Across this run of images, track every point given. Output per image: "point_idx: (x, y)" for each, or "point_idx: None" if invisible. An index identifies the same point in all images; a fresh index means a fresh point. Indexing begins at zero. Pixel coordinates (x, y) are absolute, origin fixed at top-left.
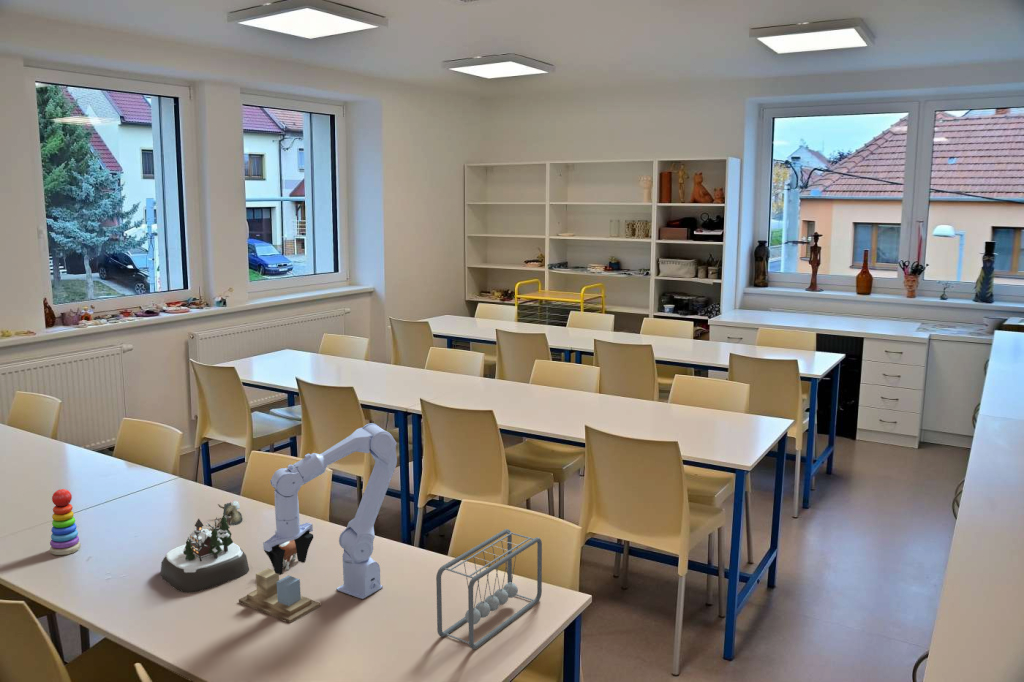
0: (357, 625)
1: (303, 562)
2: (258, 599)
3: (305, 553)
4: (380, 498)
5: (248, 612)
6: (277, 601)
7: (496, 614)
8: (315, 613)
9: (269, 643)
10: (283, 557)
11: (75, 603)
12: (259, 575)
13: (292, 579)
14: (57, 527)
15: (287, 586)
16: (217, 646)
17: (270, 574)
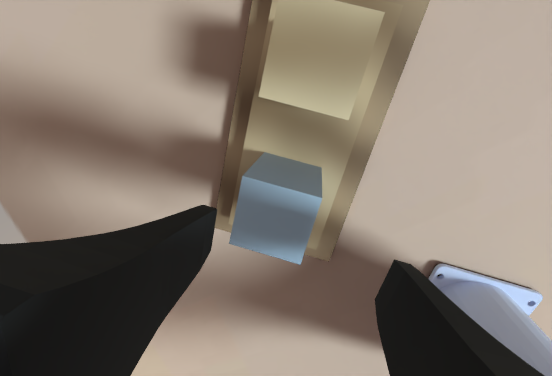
0: (268, 361)
1: (375, 301)
2: (261, 61)
3: (395, 373)
4: None
5: (216, 56)
6: (266, 149)
7: None
8: (285, 260)
9: (121, 221)
10: (131, 371)
11: None
12: (272, 30)
13: (287, 236)
14: None
15: (230, 240)
16: (40, 101)
17: (304, 92)
